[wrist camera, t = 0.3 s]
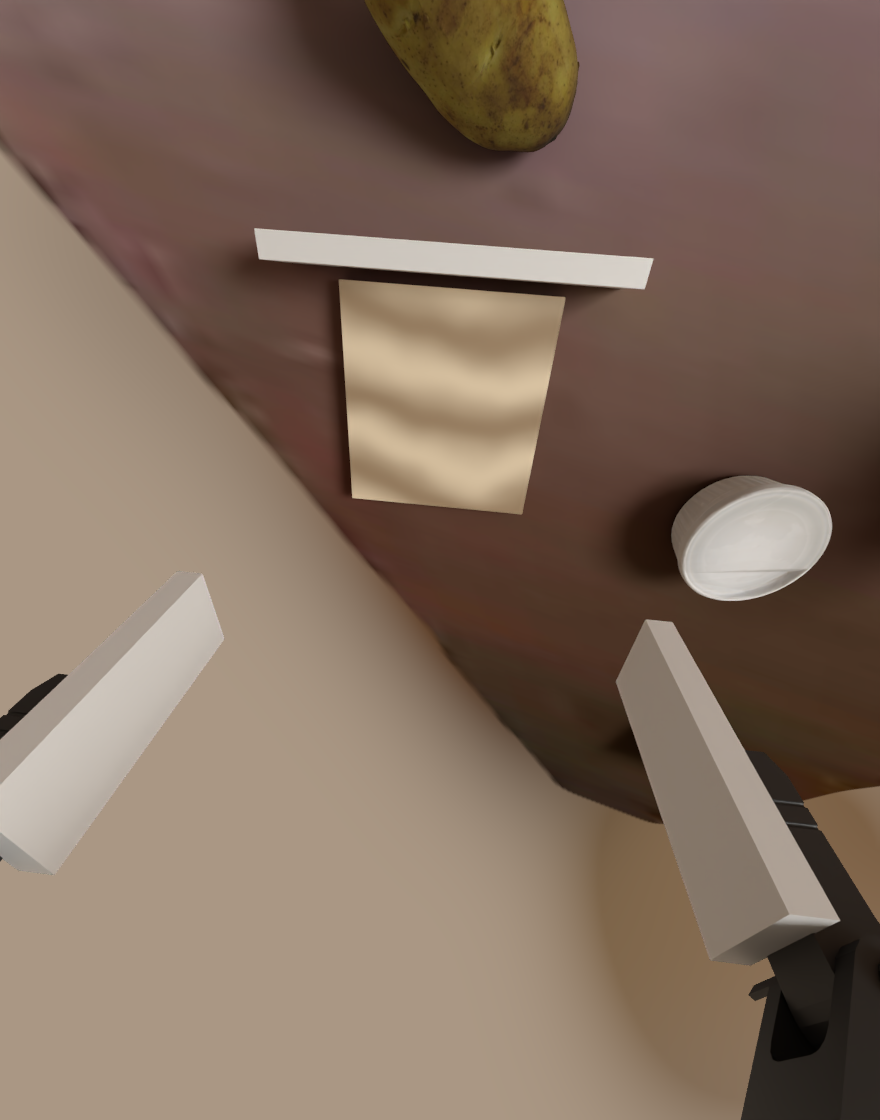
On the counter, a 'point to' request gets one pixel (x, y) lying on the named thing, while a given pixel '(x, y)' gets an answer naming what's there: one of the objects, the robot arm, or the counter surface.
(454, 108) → the potato
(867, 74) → the counter surface
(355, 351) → the cutting board
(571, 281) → the divider wall
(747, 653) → the counter surface
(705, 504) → the ramekin
